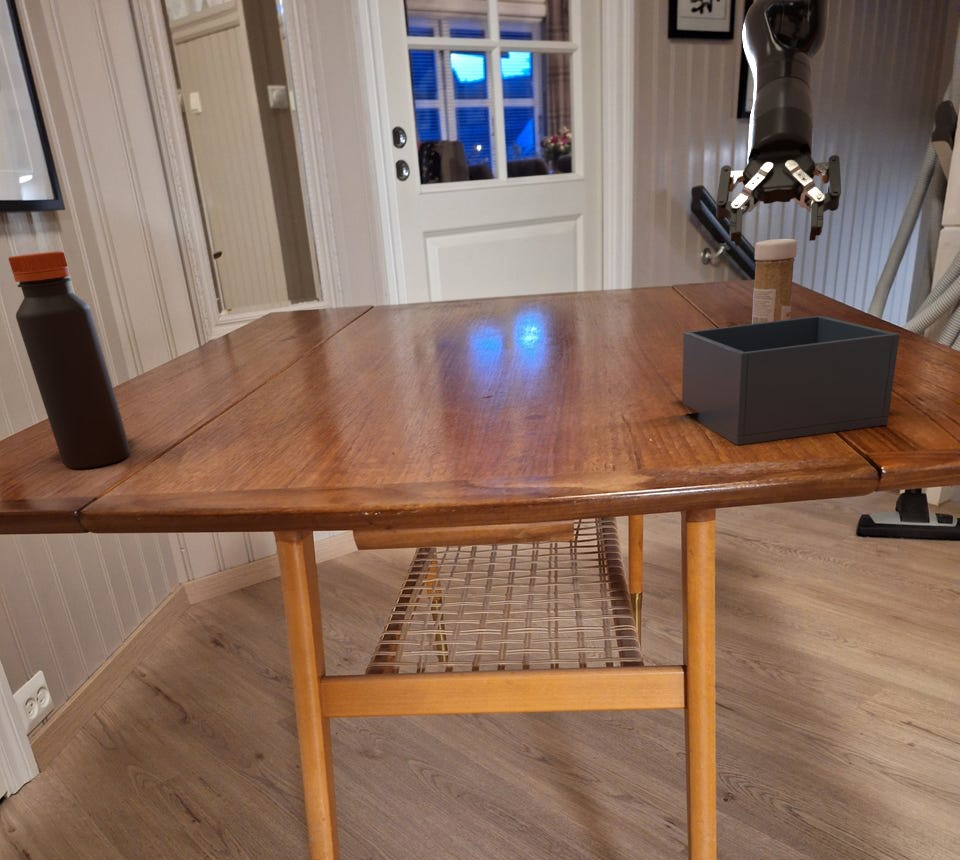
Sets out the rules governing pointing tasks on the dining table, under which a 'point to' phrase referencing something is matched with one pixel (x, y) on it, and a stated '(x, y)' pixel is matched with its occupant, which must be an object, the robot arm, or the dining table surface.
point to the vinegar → (68, 363)
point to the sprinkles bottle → (773, 280)
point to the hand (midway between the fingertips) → (775, 238)
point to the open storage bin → (788, 378)
